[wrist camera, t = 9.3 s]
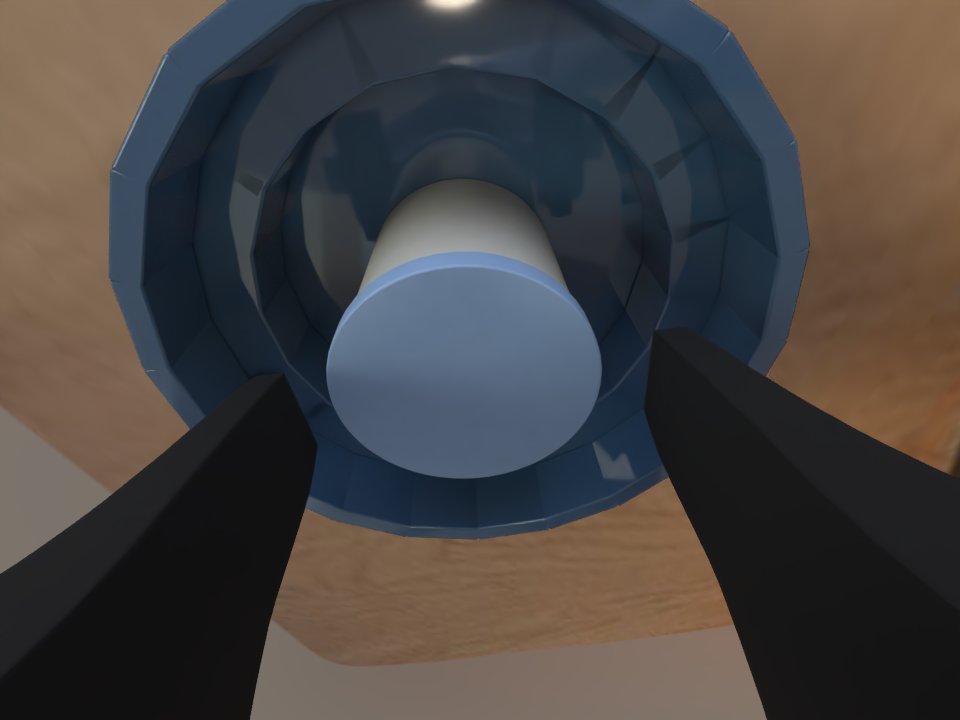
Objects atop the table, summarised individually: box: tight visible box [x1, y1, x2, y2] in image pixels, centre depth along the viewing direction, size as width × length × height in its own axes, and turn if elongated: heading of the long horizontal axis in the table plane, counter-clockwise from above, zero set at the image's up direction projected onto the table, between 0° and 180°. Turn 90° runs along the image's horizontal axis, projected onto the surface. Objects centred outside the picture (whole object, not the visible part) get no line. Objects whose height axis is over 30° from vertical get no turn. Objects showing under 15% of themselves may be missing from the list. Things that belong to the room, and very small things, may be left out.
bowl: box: [109, 0, 810, 540], centre depth 12 cm, size 14×14×5 cm
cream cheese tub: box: [326, 178, 602, 478], centre depth 12 cm, size 6×6×6 cm
